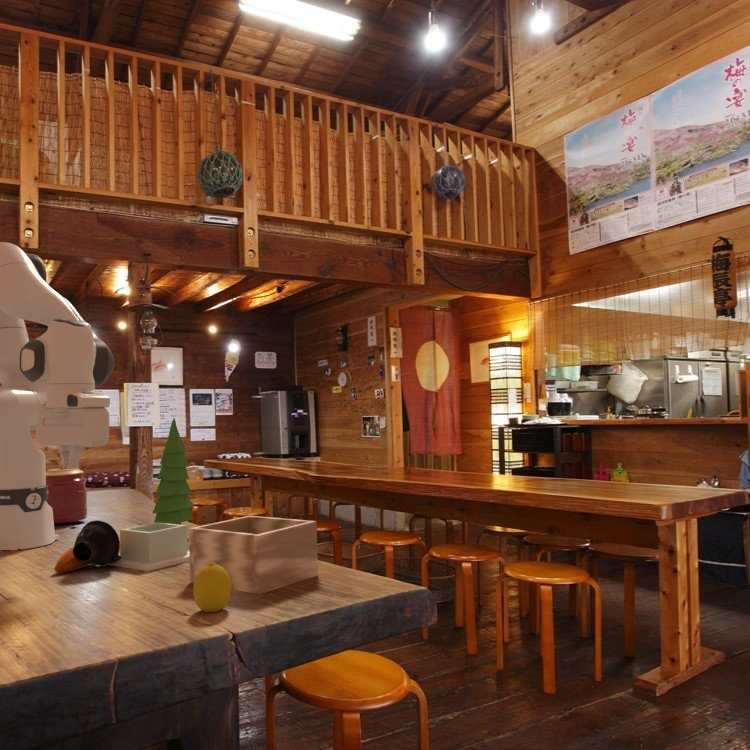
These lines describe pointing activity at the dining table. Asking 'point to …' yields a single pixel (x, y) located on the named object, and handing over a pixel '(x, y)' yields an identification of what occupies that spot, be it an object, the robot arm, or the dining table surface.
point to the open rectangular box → (153, 546)
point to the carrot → (69, 562)
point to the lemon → (212, 588)
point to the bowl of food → (97, 544)
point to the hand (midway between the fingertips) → (70, 468)
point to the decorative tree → (173, 482)
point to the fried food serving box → (257, 551)
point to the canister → (67, 494)
